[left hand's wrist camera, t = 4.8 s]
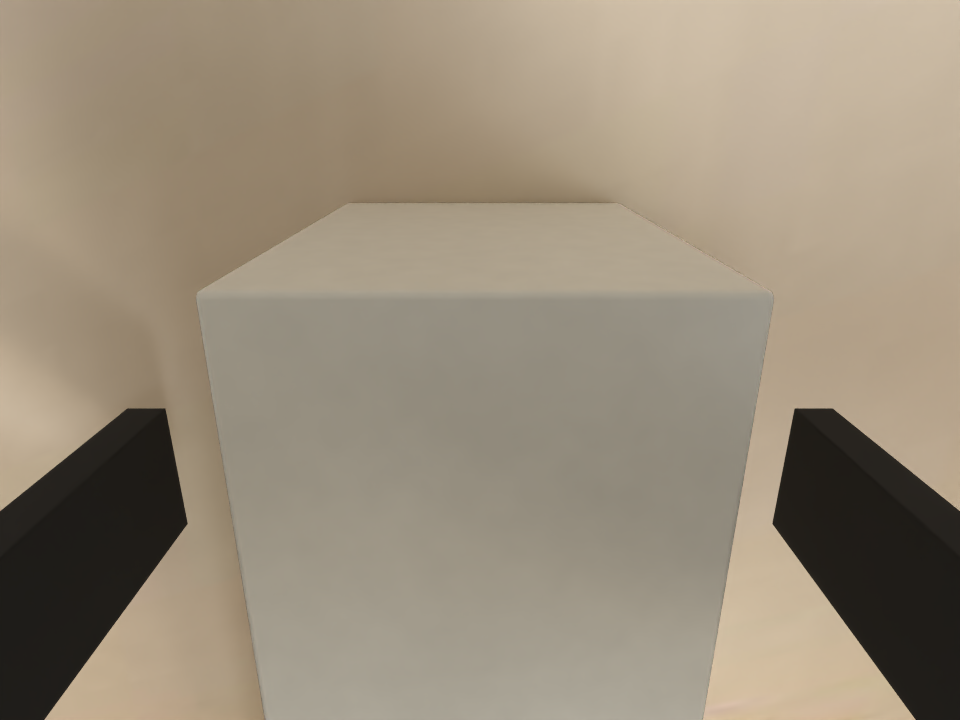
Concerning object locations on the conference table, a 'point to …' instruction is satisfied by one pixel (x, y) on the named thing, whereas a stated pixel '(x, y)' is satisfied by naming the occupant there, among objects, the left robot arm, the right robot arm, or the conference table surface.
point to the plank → (484, 460)
